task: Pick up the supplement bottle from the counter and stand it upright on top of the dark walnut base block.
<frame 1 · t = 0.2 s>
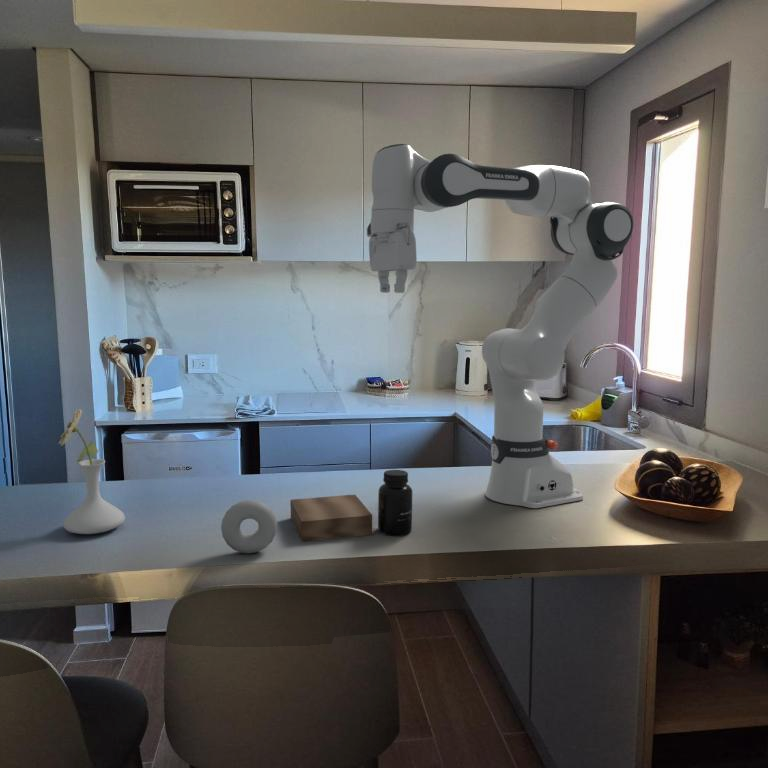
hand: (392, 292, 142), 47 cm above the countertop, tool pointing down, fingers open, 8 cm apart
donut: (249, 554, 123), on the countertop
walnut base: (330, 526, 137), on the countertop
supplement bottle: (395, 531, 135), on the countertop
flower in vase: (92, 531, 134), on the countertop
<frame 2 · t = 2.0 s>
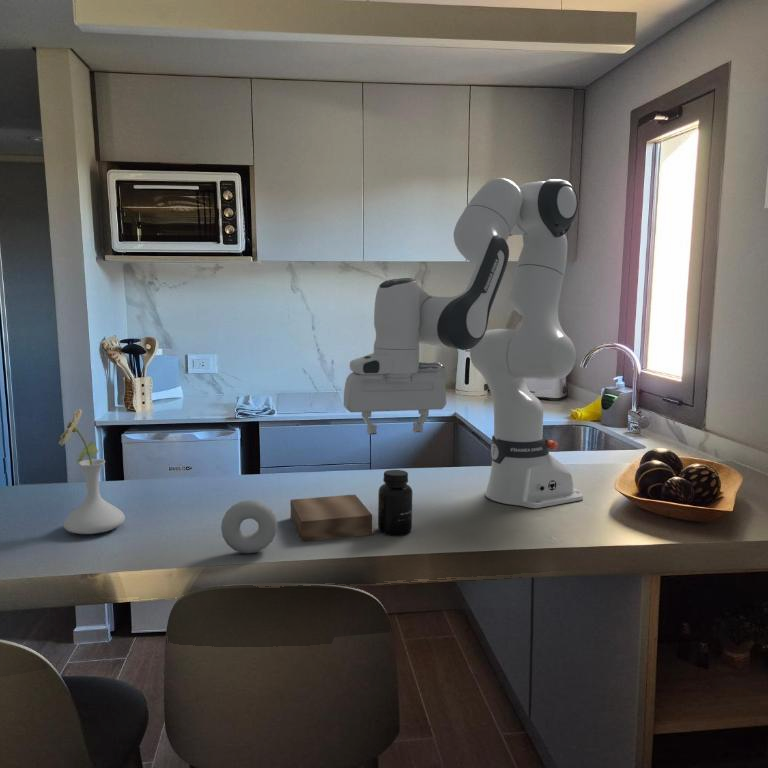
hand: (394, 433, 132), 20 cm above the countertop, tool pointing down, fingers open, 8 cm apart
nothing on the countertop moved.
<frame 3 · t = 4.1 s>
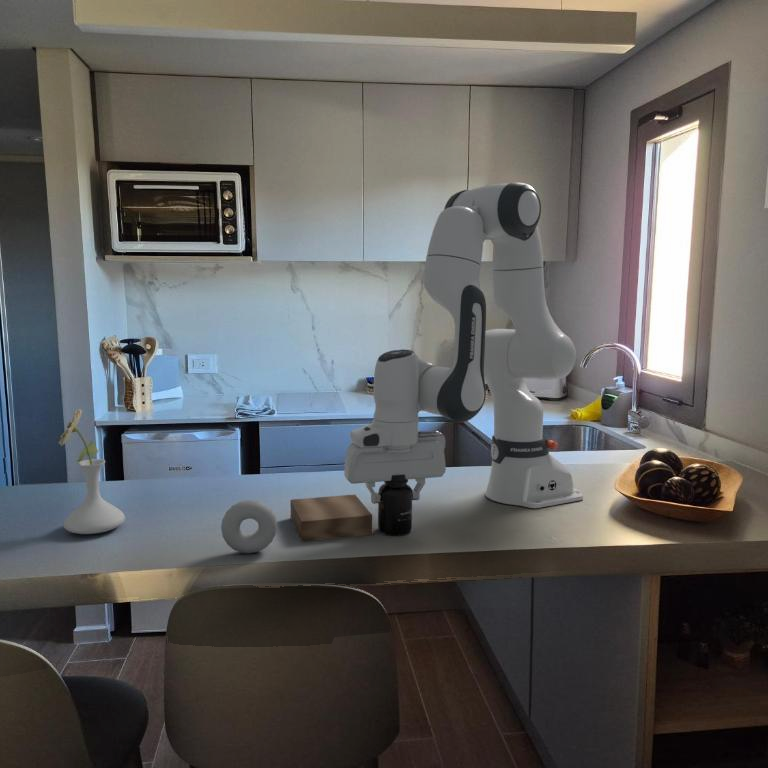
hand: (395, 501, 134), 6 cm above the countertop, tool pointing down, fingers closed on supplement bottle, 7 cm apart
supplement bottle: (394, 531, 135), on the countertop, touching gripper
everything else where it was.
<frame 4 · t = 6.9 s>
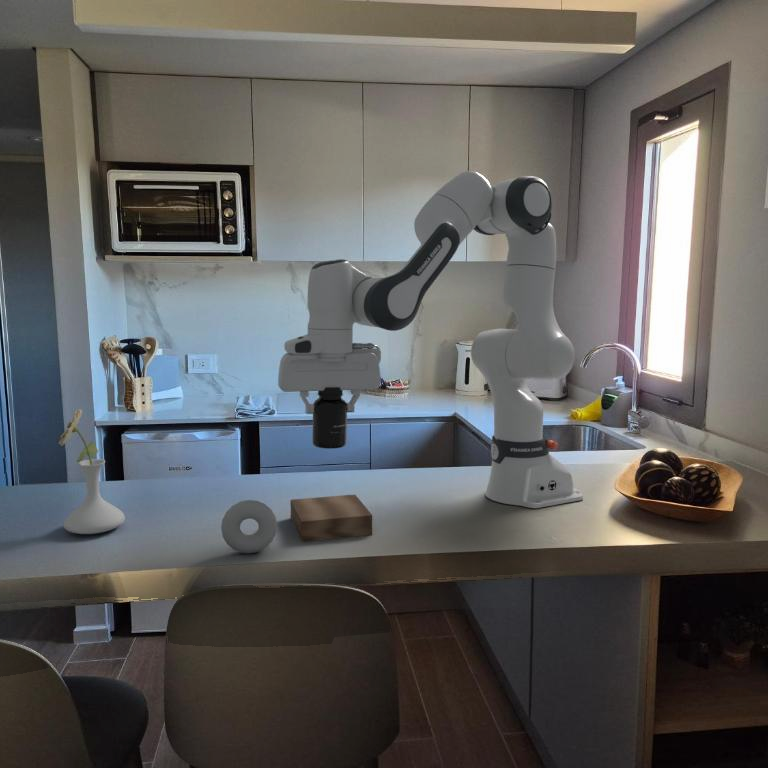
hand: (330, 412, 134), 23 cm above the countertop, tool pointing down, fingers closed on supplement bottle, 7 cm apart
supplement bottle: (329, 446, 135), point 17 cm above the countertop, touching gripper
everything else where it was.
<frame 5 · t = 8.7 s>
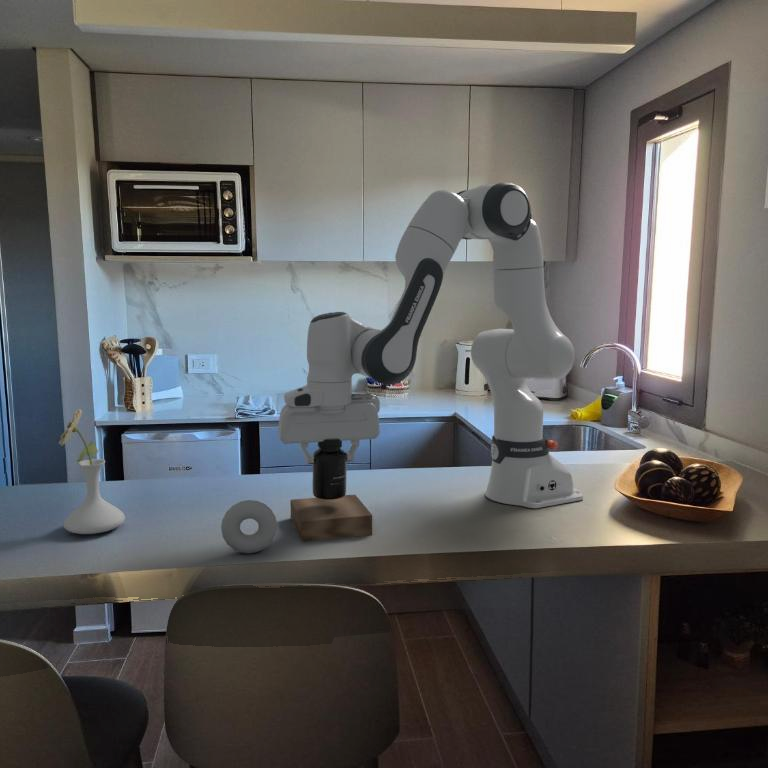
hand: (329, 462, 135), 13 cm above the countertop, tool pointing down, fingers closed on supplement bottle, 7 cm apart
supplement bottle: (329, 496, 136), point 6 cm above the countertop, touching gripper
everything else where it was.
when the fingers open (11 cm above the countertop, at t = 10.1 s): supplement bottle stays where it is, resting on walnut base.
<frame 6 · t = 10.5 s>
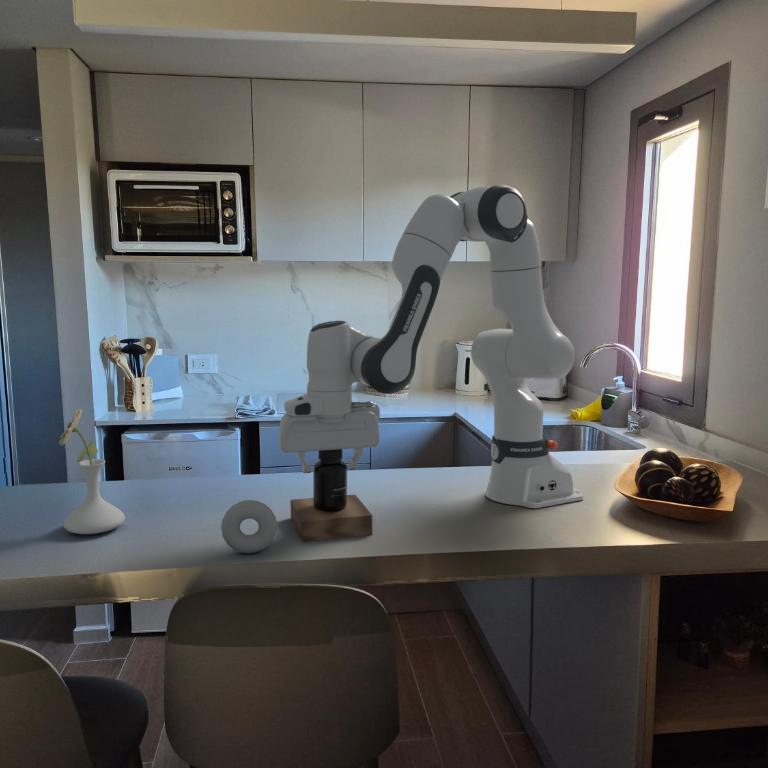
hand: (329, 470, 136), 12 cm above the countertop, tool pointing down, fingers open, 8 cm apart
supplement bottle: (330, 507, 137), point 4 cm above the countertop, touching walnut base
everything else where it was.
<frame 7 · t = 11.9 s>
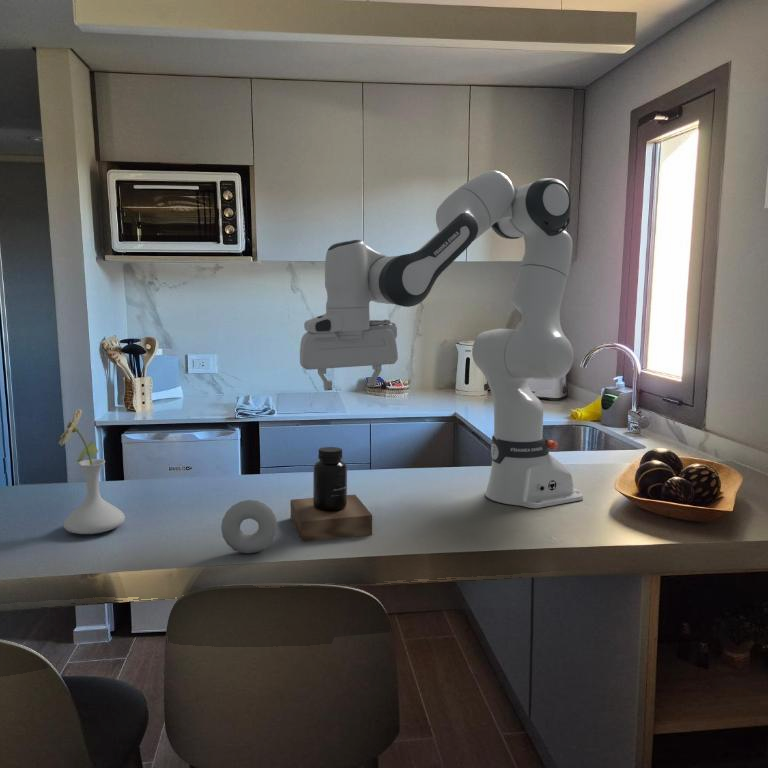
hand: (350, 388, 140), 28 cm above the countertop, tool pointing down, fingers open, 8 cm apart
nothing on the countertop moved.
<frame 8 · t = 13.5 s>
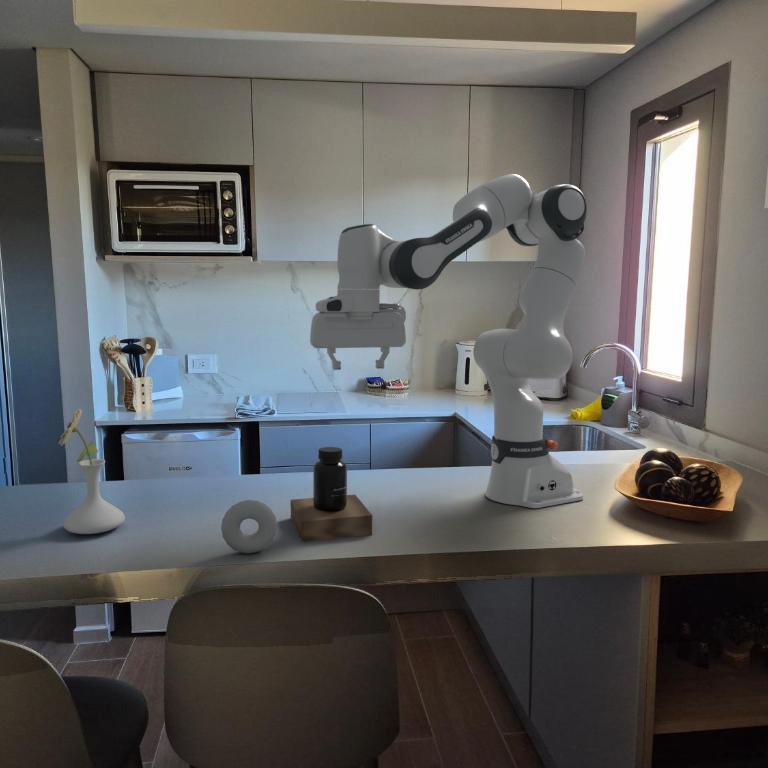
hand: (358, 369, 143), 31 cm above the countertop, tool pointing down, fingers open, 8 cm apart
nothing on the countertop moved.
at the end: supplement bottle inside the target area on the walnut base (0.1 cm from its centre), point 3.8 cm above the walnut base's base; supplement bottle tilted 0°; the gripper is holding nothing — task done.
